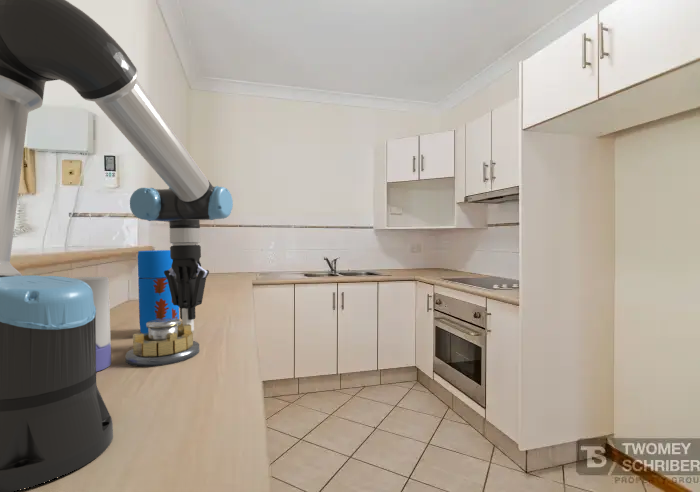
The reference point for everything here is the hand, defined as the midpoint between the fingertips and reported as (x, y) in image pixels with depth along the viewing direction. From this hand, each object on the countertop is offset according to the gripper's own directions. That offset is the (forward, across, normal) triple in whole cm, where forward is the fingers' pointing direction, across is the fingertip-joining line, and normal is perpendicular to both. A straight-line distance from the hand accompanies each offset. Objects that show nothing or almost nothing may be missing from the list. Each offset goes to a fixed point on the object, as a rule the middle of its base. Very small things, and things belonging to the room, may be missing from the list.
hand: (188, 331), depth 98 cm
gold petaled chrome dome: (+2, 0, +6) cm, 7 cm away
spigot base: (+3, -1, +10) cm, 10 cm away
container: (+4, +9, +22) cm, 24 cm away
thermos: (+4, +18, -8) cm, 20 cm away
